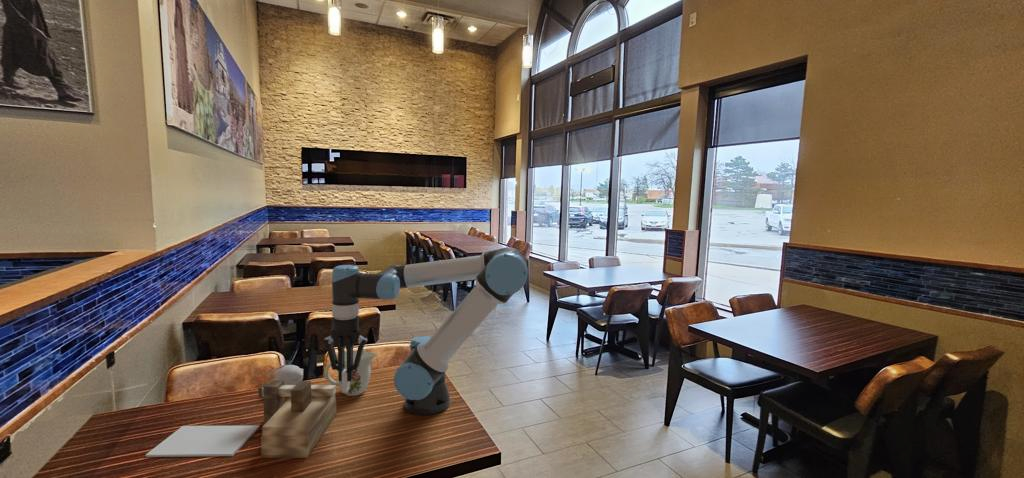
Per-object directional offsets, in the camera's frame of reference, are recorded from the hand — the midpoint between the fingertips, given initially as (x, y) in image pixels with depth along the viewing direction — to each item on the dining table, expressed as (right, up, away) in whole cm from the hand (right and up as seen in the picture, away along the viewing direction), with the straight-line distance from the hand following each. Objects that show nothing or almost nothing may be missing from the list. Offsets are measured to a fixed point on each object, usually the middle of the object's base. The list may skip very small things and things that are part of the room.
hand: (345, 390), depth 131 cm
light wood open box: (-14, -10, -7) cm, 18 cm away
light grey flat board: (-35, -10, -11) cm, 38 cm away
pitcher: (-6, -8, +21) cm, 23 cm away
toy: (-30, -7, +22) cm, 38 cm away
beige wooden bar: (-14, -1, -1) cm, 14 cm away
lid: (-10, -5, -7) cm, 13 cm away
